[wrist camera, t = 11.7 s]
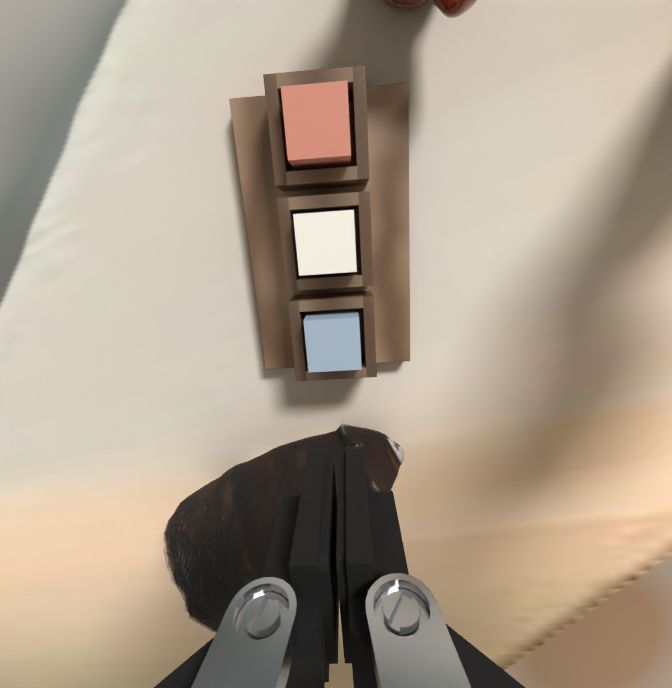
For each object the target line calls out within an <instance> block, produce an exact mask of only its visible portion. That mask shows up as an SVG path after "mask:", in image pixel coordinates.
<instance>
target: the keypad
mask: <svg viewBox="0 0 672 688" xmlns="http://www.w3.org/2000/svg"><path fill="white" fill-rule="evenodd" d="M263 77H264V87H265V96H255V97H244V98H233V99H229V101H230V108H231V116H232V123H233V131H234V138H235V145H236V153H237V160H238V168H239V175H240V182H241V190H242V197H243V204H244V212H245V219H246V227H247V234H248V241H249V249H250V256H251V264H252V271H253V278H254V286H255V293H256V300H257V308H258V315H259V323H260V330H261V337H262V345H263V352H264V360H265V367H266V369H274V368H292V367H295V371H296V380H297V381H308V380H327V379H345V378H364V377H377V371H376V363H381V362H399V361H410V282H409V123H408V83H401V84H390V85H379V86H368V87H366V68H365V65H363V66H352V67H341V68H330V69H319V70H308V71H297V72H286V73H275V74H265V75H263ZM336 81H347V84H348V104H349V124H350V144H351V162H350V166H339V167H327V168H314V169H302V170H294V168H293V167H292V166H291V164H290V163H289V161H288V157H287V147H286V136H285V126H284V116H283V105H282V95H281V86H291V85H302V84H313V83H325V82H336ZM344 210H354V225H355V245H356V265H357V272H347V273H332V274H317V275H302V276H299V270H298V259H297V249H296V239H295V229H294V218H293V214H303V213H317V212H330V211H344ZM344 309H358V314H359V325H360V346H361V366H362V370H345V371H327V372H308V362H307V352H306V342H305V331H304V319H305V317H306V315H307V313H308V312H312V311H328V310H344Z"/></svg>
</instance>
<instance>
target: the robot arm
mask: <svg viewBox="0 0 672 688" xmlns="http://www.w3.org/2000/svg"><path fill="white" fill-rule="evenodd" d="M339 602H340V613H341V625H342V636H343V647H344V659H345V663H352V668H353V681H354V688H525V687H524V686H522V685H521V684H520V683H519V682H517V681H516V680H515V679H514V678H512V677H511V676H510V675H509V674H508V673H506V672H505V671H504V670H503V669H501V668H500V667H499V666H498V665H496V664H495V663H494V662H493V661H491V660H490V659H489V658H488V657H486V656H485V655H484V654H483V653H481V652H480V651H479V650H478V649H476V648H475V647H474V646H473V645H472V644H470V643H469V642H468V641H467V640H465V639H464V638H463V637H462V636H460V635H459V634H458V633H457V632H455V631H454V630H453V629H452V628H450V627H449V626H448V625H447V624H445V622H444V619H443V617H442V614H441V612H440V609H439V607H438V604H437V602H436V600H435V598H434V596H433V594H432V593H431V591H430V589H429V588H428V587H427V586H426V585H425V584H424V583H423V582H422V581H420V580H418V579H416V578H415V577H413V576H410V575H409V574H408V568H407V563H406V558H405V553H404V548H403V542H402V537H401V532H400V527H399V521H398V516H397V511H396V506H395V501H394V496H393V492H392V491H369V492H367V483H366V472H365V461H364V450H363V446H356V447H346V452H339V469H338V499H337V486H336V474H335V462H334V453H333V452H332V453H327V448H313V449H309V450H308V456H307V461H306V467H305V473H304V479H303V485H302V491H301V494H295V495H283V496H282V499H281V502H280V506H279V511H278V515H277V519H276V523H275V527H274V531H273V535H272V539H271V544H270V548H269V552H268V556H267V560H266V564H265V568H264V572H263V577H262V578H260V579H257V580H254V581H252V582H250V583H249V584H247V585H246V586H244V587H243V588H242V589H241V590H240V591H239V592H238V593H237V594H236V595H235V596H234V598H233V600H232V601H231V603H230V605H229V606H228V609H227V611H226V613H225V615H224V617H223V620H222V622H221V624H220V626H219V628H218V630H217V633H216V635H215V637H214V638H213V639H211V640H210V641H209V642H208V643H207V644H205V645H204V646H203V647H202V648H201V649H199V650H198V651H197V652H196V653H195V654H193V655H192V656H191V657H190V658H189V659H187V660H186V661H185V662H184V663H183V664H181V665H180V666H179V667H178V668H177V669H176V670H174V671H173V672H172V673H171V674H170V675H168V676H167V677H166V678H165V679H164V680H162V681H161V682H160V683H159V684H158V685H156V686H155V687H154V688H324V683H325V682H329V664H337V663H338V626H339Z"/></svg>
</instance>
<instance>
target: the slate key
mask: <svg viewBox="0 0 672 688" xmlns="http://www.w3.org/2000/svg"><path fill="white" fill-rule="evenodd" d="M304 331H305V342H306V352H307V362H308V372H327V371H345V370H362V366H361V346H360V325H359V314H358V309H344V310H328V311H312V312H308V313H307V315H306V317H305V319H304Z"/></svg>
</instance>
